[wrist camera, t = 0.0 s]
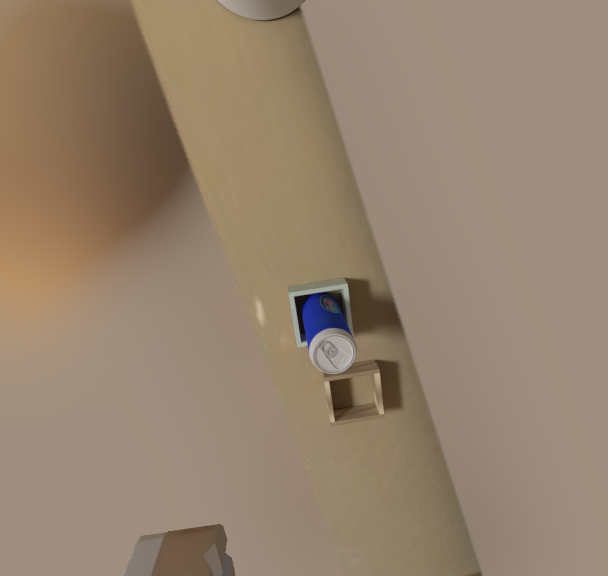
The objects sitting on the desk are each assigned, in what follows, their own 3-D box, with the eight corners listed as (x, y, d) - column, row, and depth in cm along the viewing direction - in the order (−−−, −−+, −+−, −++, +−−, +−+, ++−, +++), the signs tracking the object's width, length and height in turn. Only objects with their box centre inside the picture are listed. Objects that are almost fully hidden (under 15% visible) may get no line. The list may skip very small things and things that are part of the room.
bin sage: (288, 286, 56) (288, 292, 53) (344, 277, 56) (347, 283, 54) (296, 338, 58) (297, 347, 56) (350, 330, 59) (354, 338, 56)
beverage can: (345, 308, 58) (368, 354, 43) (318, 333, 58) (332, 385, 44) (320, 283, 56) (335, 321, 42) (293, 308, 57) (299, 354, 43)
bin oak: (321, 368, 60) (324, 377, 57) (374, 359, 60) (379, 369, 57) (328, 414, 62) (331, 426, 59) (379, 406, 62) (384, 417, 59)
